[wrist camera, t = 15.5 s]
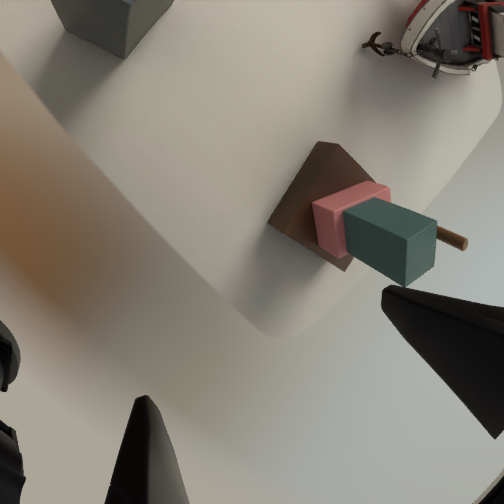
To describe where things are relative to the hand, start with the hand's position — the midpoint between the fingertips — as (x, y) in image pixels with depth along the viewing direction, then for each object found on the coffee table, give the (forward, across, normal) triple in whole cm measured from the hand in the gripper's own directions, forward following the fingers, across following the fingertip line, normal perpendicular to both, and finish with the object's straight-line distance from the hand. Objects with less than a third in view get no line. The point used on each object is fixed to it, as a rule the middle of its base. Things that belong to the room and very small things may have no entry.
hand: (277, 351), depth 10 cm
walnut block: (+13, -11, +2) cm, 17 cm away
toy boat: (+14, -30, -15) cm, 37 cm away
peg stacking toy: (+11, -11, +2) cm, 15 cm away
